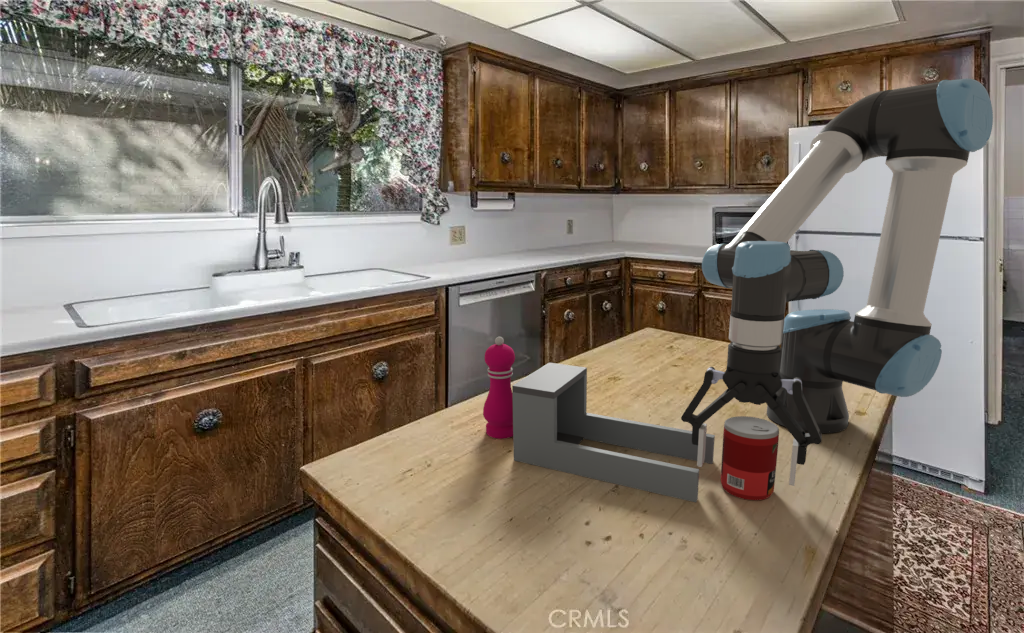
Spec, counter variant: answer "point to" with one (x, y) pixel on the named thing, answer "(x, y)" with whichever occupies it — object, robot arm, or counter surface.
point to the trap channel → (597, 437)
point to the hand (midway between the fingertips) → (744, 472)
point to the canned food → (749, 457)
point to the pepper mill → (499, 390)
